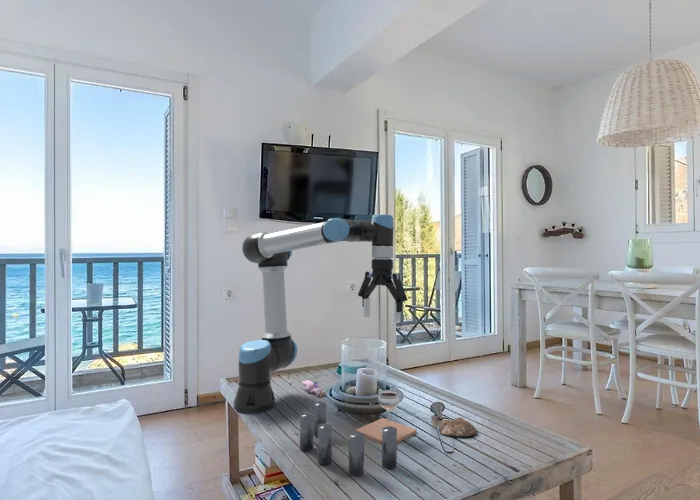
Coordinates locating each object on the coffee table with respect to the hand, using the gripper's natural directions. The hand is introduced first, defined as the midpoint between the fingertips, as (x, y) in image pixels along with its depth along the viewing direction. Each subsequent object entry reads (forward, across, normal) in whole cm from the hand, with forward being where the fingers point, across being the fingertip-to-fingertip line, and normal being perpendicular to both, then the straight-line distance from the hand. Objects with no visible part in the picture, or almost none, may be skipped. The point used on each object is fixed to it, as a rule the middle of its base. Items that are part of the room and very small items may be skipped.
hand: (381, 319), depth 155 cm
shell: (+35, -26, -9) cm, 44 cm away
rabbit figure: (+35, +36, 0) cm, 50 cm away
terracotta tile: (+34, -10, +9) cm, 37 cm away
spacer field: (+34, -10, +31) cm, 47 cm away
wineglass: (+34, -11, +9) cm, 37 cm away
